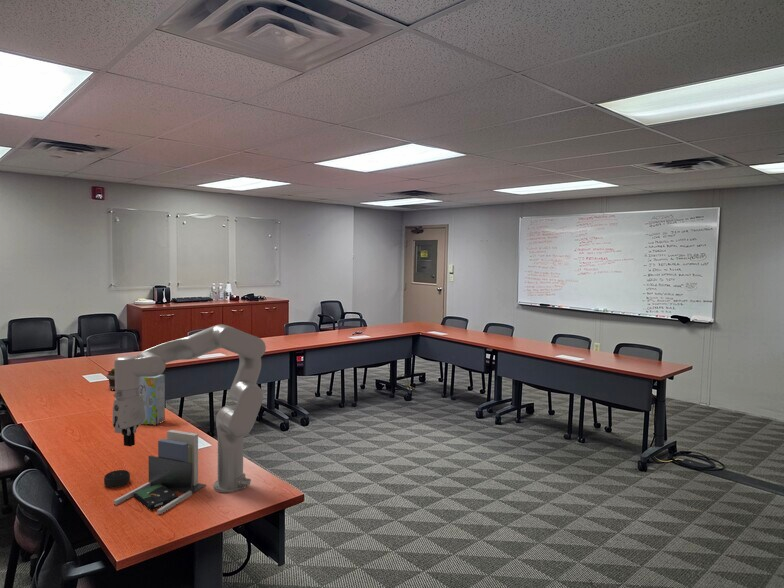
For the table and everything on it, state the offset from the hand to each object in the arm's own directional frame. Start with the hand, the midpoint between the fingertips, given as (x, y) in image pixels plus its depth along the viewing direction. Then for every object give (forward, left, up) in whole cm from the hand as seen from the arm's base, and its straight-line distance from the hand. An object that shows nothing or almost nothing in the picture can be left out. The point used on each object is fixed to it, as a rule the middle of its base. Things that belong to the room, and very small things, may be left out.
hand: (129, 445), depth 174 cm
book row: (0, -23, -24) cm, 33 cm away
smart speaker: (+23, -17, -25) cm, 38 cm away
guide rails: (0, -11, -24) cm, 27 cm away
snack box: (+71, -78, -25) cm, 109 cm away
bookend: (0, -23, -24) cm, 34 cm away
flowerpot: (+136, -125, -25) cm, 186 cm away
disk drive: (0, -12, -25) cm, 28 cm away
